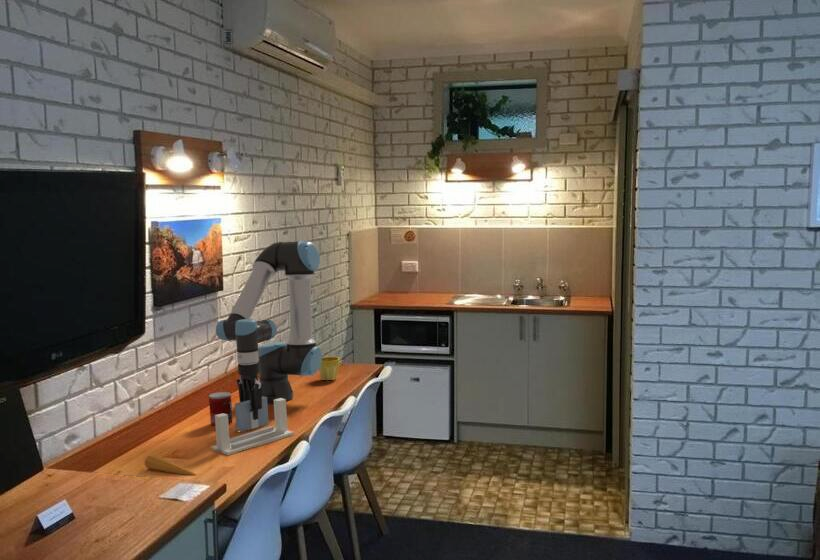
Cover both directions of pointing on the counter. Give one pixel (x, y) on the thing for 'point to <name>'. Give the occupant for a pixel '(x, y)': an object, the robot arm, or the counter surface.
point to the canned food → (220, 405)
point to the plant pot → (329, 368)
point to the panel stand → (252, 438)
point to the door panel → (244, 415)
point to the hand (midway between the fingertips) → (252, 427)
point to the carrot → (165, 465)
